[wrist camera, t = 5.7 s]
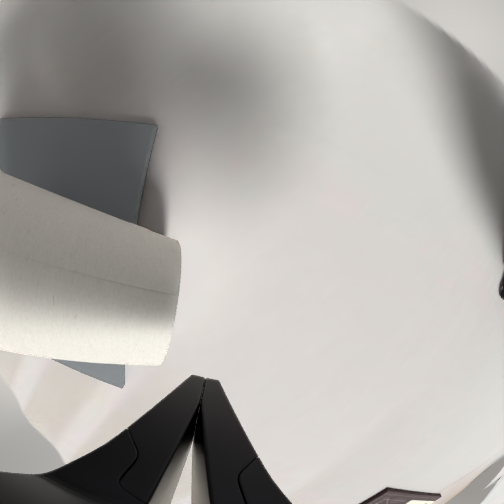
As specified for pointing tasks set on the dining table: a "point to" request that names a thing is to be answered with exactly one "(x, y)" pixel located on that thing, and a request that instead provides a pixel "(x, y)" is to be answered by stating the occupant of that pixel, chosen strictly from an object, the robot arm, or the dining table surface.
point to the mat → (82, 175)
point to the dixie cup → (82, 281)
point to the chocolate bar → (402, 497)
